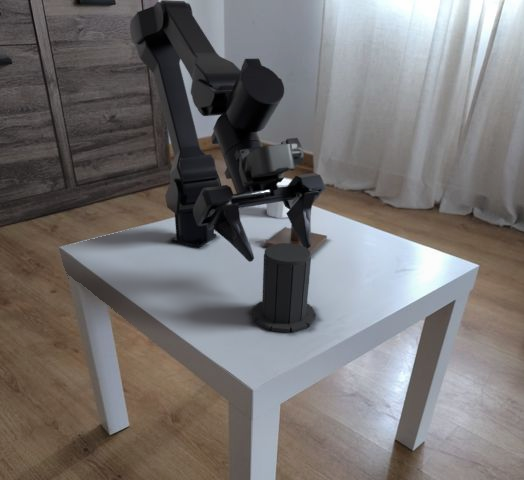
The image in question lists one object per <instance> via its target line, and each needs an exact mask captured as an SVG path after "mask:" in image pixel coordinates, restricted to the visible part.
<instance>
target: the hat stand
mask: <svg viewBox="0 0 524 480" xmlns="http://www.w3.org/2000/svg"><path fill="white" fill-rule="evenodd" d="M327 238H328V235H325V234H321V233H316V232H311V247H310V248H309V249H308V250H309V251H310V253H311V255H310V257H311V256H312V255H313V254H314V253H315V252H317V251H318V249H319V248H320V247H322V245H324V244H325V242H326V241H327V240H328V239H327ZM264 243H265V245H264V247H265V248H267V247H269V246H271V245H274V244H279V243H292V244H297V245H301V246H303V245H302V244H301V242H300V240H299V238H298V236H297V234H296V232H295V230H294V228H293V226H292V224H291V223H290V227H286V226H285V227H284V228H282V229H280V230H279V231H278V232H276V234H274V235H272V236H271V237H269V239H268V240H266V241H265V242H264Z"/></svg>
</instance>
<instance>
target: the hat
mask: <svg viewBox="0 0 524 480" xmlns="http://www.w3.org/2000/svg"><path fill="white" fill-rule="evenodd" d="M310 255H311V253H310V251H309V250H308V249H307V248H306V247H304V246H301V245H297V244H292V243H279V244H274V245H271V246H269V247H265V249H264V254H263V266H262V267H263V268H262V300H261V301H259V302H258V303H257V304H256V305H255V306H254V307H253V308H252V309H251V314H252V316H253V317H252V318H253V321H254V323H256V324H257V325H259V326H260V327H262V328H264V329H266V330H268V331H270V330H271V332H278V333H289V334H290V332H291V333H296V332H299V331H303V330H308V328H310V327H311V326H312V325H313V323H314V322H316V318H317V316H316V315H317V314H316V311H315V310H314V308H313V306H311V304H309V303H308V296H309V287H310V285H309V284H310V277H311V276H310V275H311V265H312V264H311V263H312V257H311V256H312V255H311V256H310Z"/></svg>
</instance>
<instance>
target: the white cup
mask: <svg viewBox="0 0 524 480" xmlns="http://www.w3.org/2000/svg"><path fill="white" fill-rule="evenodd" d="M292 180H293V178H289V177H284V179H283V180H282V181H281V182H278V183H277V186H278V188H279V187H286V186H288V185H289V183H290V182H291V181H292ZM265 205H266V215H268V216H269V217H271V218H277V219H284V218H288V216H287V214H286V213H287V212H288V211H289V210H290V209H288V208H287V207H285V205H284V203H283V201H281V202H275V203H269V204H265Z"/></svg>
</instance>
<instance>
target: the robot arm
mask: <svg viewBox="0 0 524 480" xmlns="http://www.w3.org/2000/svg"><path fill="white" fill-rule="evenodd" d="M129 30H130V37H131V41H132V43H133V44H134V45H135V48H136V50H137V53H138V57H139V59H140V60H141V62H142V63H143V64H144V65H145V66H146V67H147V68H148V70H150V71H151V72H152V74H153V77H154V81H155V85H156V90H157V94H158V97H159V100H160V104H161V109H162V113H163V116H164V117H163V118H164V121H165V125H166V128H167V133H168V136H169V140H170V144H171V148H172V152H173V156H174V157H173V162H172V165H171V169H170V171H169V177H170V181H169V185H168V188H167V189H166V192H165V196H164V197H165V203H166V207H167V209H168V210H170V211H171V212H172V213H174V222H175V236H173V237H171V242H173V243H179V244H181V245H187V246H189V247H191V246H192V247H196V248H201V247H203V246H205V245H207V244H208V243H209V242H211V241H213V240H215V238H217V237H218V235H217V234H219V235H220V236H221V237H222V238H223V239H224V240H226V241H227V242H228V243H230V244H231V245H232V246H233V247H234V248H235V250H237V251H238V253H240V255H242V256H243V258H244V259H245V260H246V261H248V262H249V263H251V262H253V261H254V260H255V256H254V252H253V248H252V246H251V243H250V240H249V238H248V236H247V233H246V230H245V228H244V226H243V223H242V221H241V216H240V215H241V213H240V209H242V208H250V207H256V206H261V205H263V206H264V205H266V204H269V203H275V202H281V201H283V203H284V205H285V207H287V208H288V209H290V210H289V211H288V212H287V213H286V214H287V216H288V217H287V218H288V220H289V223H290V225H291V224H292V226H293V228H294V230H295V232H296V234H297V236H298V238H299V240H300V242H301V244H302V245H303V246H304V247H306V248H307V249H309V248H310V247H311V233H312V232H311V216H312V207H313V204H314V203H315V202H316V201H317V200H318V198H320V195H321V194H322V193H323V192H324V191H325V190H326V185H325V182H324V179H323V177H322V176H321V174H319V173H316V172H312V173H303V174H297V175H295V176H294V177H293V178H292V179H293V180H292V181H291V182H290V183H289V185H288V186H286V187H279V188H278V186H277V183H278V182H281V181H282V180H283V179H284V178H285V175H284V174H285V173H287V172H288V171H295V170H296V165H299V164H301V163H303V162H304V159H305V154H304V149H303V146H302V144H301V142H300V140H299V138H298V137H291V138H290V137H289V138H286V139H285V140H283V141H280V144H269V145H263V143H262V141H261V138H260V135H259V133H258V132H261V131H263V130H264V129H265V128H266V126H267V125H268V123H269V122H270V120H271V118H272V117H273V115H274V113H275V111H276V110H277V108H278V106H279V104H280V103H281V101H282V99H283V97H284V94H285V85H284V82H283V80H282V78H280V77H279V76H278V75H277V74H276V73H275V72H274V71H273V70H272V69H270V68H269V67H267V66H265V65H262V62H261V60H260V58H257V57H256V58H244V60H243V63H242V65H241V68H239V67H238V66H237V65H236V64H235V63H234V62H232V61H231V60H228V59H226V58H224V57H223V56H221V55H219V54H218V53H217V51H216V50H215V48H214V46H213V45H212V43H211V42H210V40H209V38H208V37H207V35H206V33H205V32H204V30H203V29H202V28H201V26H200V25H199V23H198V22H197V20H196V18H195V16H194V15H193V9H192V6H191V4H190V3H189V2H186V1H185V0H160V1H157V2H156V3H154V4H153V5H152V6H150V7H147V8H144V9H142V10H139V11H136V13H135V15H133V17H131V20H130V23H129ZM180 62H182V64H183V65H184V67H185V69H186V71H187V73H188V75H189V77H190V78H191V87H190V96H191V98H192V103H193V104H194V107H196V109H197V111H198V113H200V115H201V116H203V117H215V116H218V118H217V119H216V121H215V124H214V126H213V128H212V129H213V132H212V134H211V144H212V145H217V144H218V147H219V149H220V152H221V154H222V158H223V160H224V163H225V166H226V168H225V171H224V175H225V178H226V180H230V179H231V183H232V184H233V187H234V190H235V193H233V190H232V187H231V186H229V185H227V184H223V185H222V183H221V179H220V175H219V173H218V171H217V167H216V162H215V158H214V156H213V155H212V154H206V153H205V151H203V150H202V149H201V146H200V141H199V137H198V133H197V129H196V125H195V121H194V117H193V113H192V110H191V109H192V108H191V105H190V101H189V98H188V93H187V89H186V86H185V81H184V77H183V73H182V70H181V69H182V68H181V63H180ZM215 232H217V233H215Z"/></svg>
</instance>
